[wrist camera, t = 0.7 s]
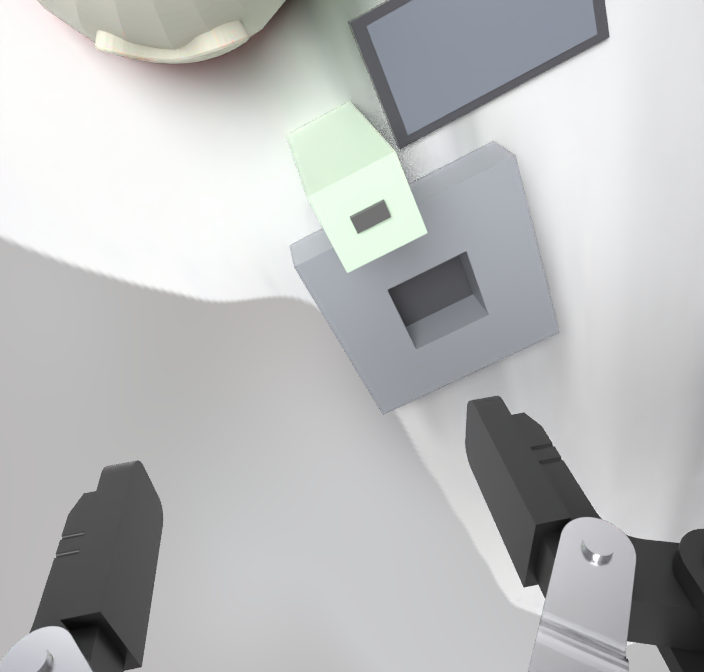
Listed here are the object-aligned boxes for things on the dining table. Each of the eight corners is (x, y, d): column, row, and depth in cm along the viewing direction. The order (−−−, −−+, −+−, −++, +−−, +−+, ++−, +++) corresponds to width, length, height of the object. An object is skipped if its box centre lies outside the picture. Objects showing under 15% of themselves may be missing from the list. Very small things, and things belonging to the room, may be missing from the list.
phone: (346, 21, 28) (350, 22, 27) (578, -110, 26) (591, -113, 25) (395, 144, 32) (400, 148, 31) (599, 35, 30) (610, 37, 29)
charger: (350, 100, 29) (396, 152, 21) (377, 165, 32) (429, 234, 23) (285, 134, 30) (307, 199, 21) (317, 196, 32) (347, 275, 24)
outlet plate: (493, 141, 32) (515, 155, 30) (539, 310, 40) (559, 332, 38) (289, 245, 33) (294, 267, 31) (374, 388, 42) (383, 414, 39)
